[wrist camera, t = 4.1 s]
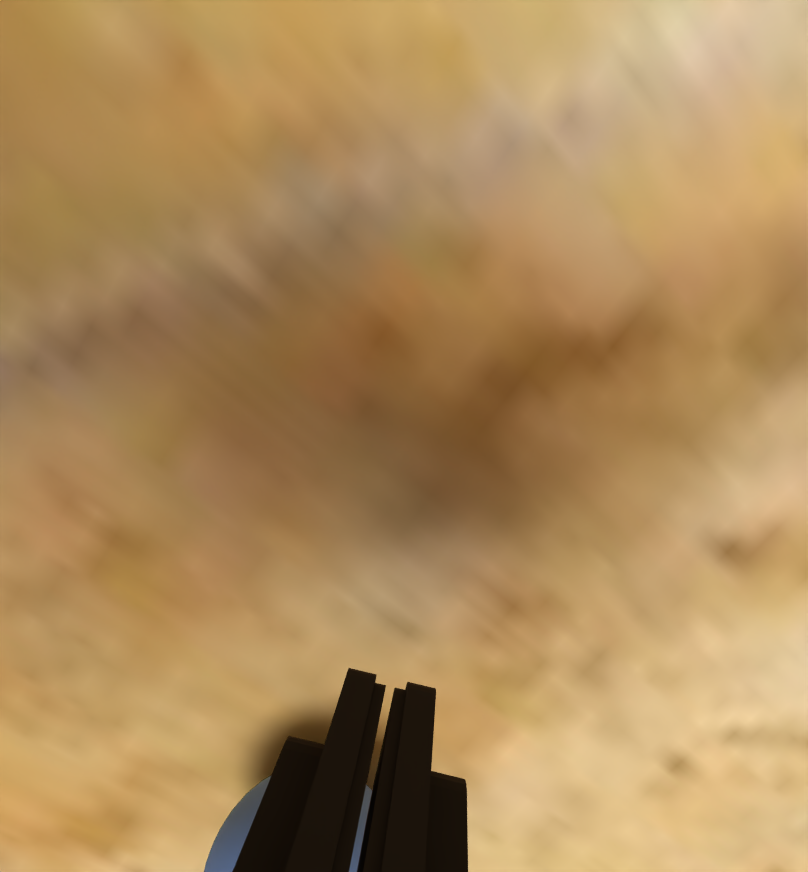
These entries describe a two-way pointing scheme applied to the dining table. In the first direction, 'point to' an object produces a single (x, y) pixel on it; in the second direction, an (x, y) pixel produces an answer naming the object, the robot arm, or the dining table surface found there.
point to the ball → (241, 821)
